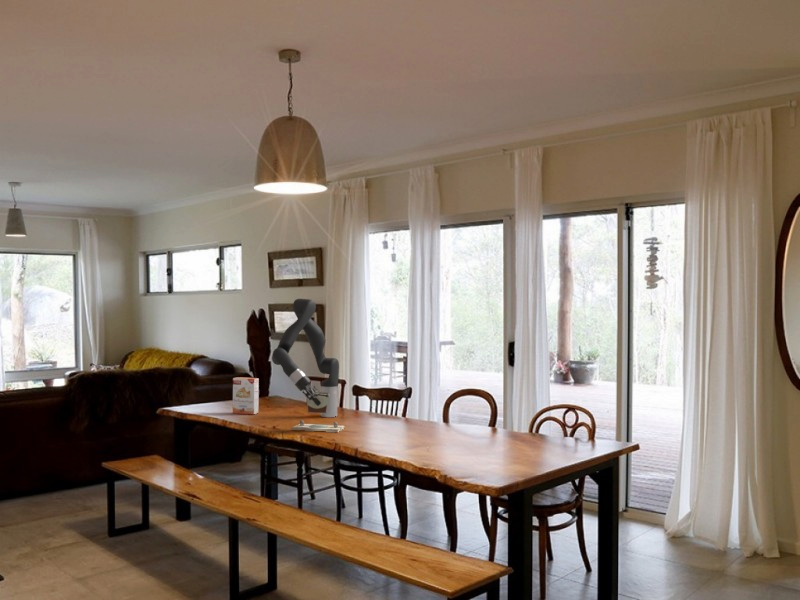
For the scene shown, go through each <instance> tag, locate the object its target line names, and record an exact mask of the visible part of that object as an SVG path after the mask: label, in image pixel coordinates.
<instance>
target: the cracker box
mask: <svg viewBox="0 0 800 600" xmlns="http://www.w3.org/2000/svg"><path fill="white" fill-rule="evenodd" d="M259 380H260V379H259V378H257V377H241V376H240V377H239V376H238V377H233V378H232V414H233V415H234V414H237V415H240V414H241V415H248V414H255V415H258V414H259V401H260V400H259V398H260V397H259V395H260V388H259V387H260V385H259V384H260V383H259V382H260V381H259ZM257 413H258V414H257Z"/></svg>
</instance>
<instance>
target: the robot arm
mask: <svg viewBox="0 0 800 600" xmlns="http://www.w3.org/2000/svg"><path fill="white" fill-rule="evenodd" d="M292 308H293V311H294V315H295V316H296V318H297V319H296V320H295V321H294V322H293V323H291V324H290V325H289V326H288V327H287V329H285V331H284V332H283V334H282V336H281V338H280V339H279V342H278V345H277V347H276V348H275V349H274V350H273V351H272V356H271V360H272V363H273V364H274V365H278V366H279V365H280V367H281V368H282V371H283V373H284V374H285V375H286V376H287V377H288V379H289V380H290V381H291V383H292V384H294V386H295V387H296V388H297V389H298V391H300V392H302V394H304V396H306V397H305V398H306V399H307V398H308V399H309V400H312V401H314V403H315V404H316V405H317V406H319V405H320V404H321V402H320V401H319V400H318V399H317V398H316V396H315V395H314V394H315V392H327V393H329V397H328V404H327V412H326V413H320V417H321V418H322V417H323V418H336V417H338V385H339V384H338V383H339V377H340V375H339V374H340V362H339V360H338V359H337V358H336V357H327V356H325V354H324V348H325V345H326V340H327V339H326V336H325V335H324V332H323V330H322V328H321V327H320V326H319V325H318V324H317V322H315V321H314V320H313V319H312V317H313V316H314V314H315V313H316V308H317V305H316V302H315V301H314V300H313V299H309V298H296V299H295V300H294V301H293V303H292ZM302 330H303V331H304V333H305V337H306V339H307V341H308V343H309V345H310V349H311V350H312V352H313V355H314V358H315V363H316V365H317V369H318V371H319V372H320V373H321V374H323V375H328V378H327V379H324V380H322V381H321V385H320V386H321V389H320V391H319V390H318V388H317V387H316V386H315V385H314V386H312V385H311V383H312V380H311V379H310V378H309V377H308V375H307V374H306V373H305V372H304V371H303V370H302V369H301V368H300V367H299V366H298V365H297V364H296V363H295V362H294V361H293V359H292V358H291V356H290V354H289V353H290V352H291V351H290V350H291V349H292V347H293V345H294V344H295V343H296V342H295V341H296V340H297V338H298V337H299V335H300V333H301V331H302ZM308 395H310V396H308ZM335 416H336V417H335Z"/></svg>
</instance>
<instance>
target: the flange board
mask: <svg viewBox="0 0 800 600" xmlns="http://www.w3.org/2000/svg"><path fill="white" fill-rule="evenodd" d="M344 428H345V425H340V424H338V421H333V424H320V423H317V424H316V423H315V424H314V423H305V420H299V424H297V425H294V426H292V427H291V431H292V430H305V431H304V432H314V431H326V432H325V433H335V432H338V433H339V431H340V432H341V431H343V430H344ZM342 429H343V430H342Z"/></svg>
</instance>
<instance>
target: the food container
mask: <svg viewBox="0 0 800 600" xmlns="http://www.w3.org/2000/svg"><path fill="white" fill-rule="evenodd" d="M314 395H315V396H316V398H317V399H318V400H319V401H320V402H321V404H320V405H319V406H317V405H316V404H315V403H314V401H312V400H309V399H308V398H307V397H306V396H305V395H304V396H305V398H306V404H307V405H306V406H307V407H306V408H307V413H308V414H321V413H326V412H327V404H328V397H329V393H327V392H321V391H319V392H315V394H314ZM308 396H310V395H308Z"/></svg>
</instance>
